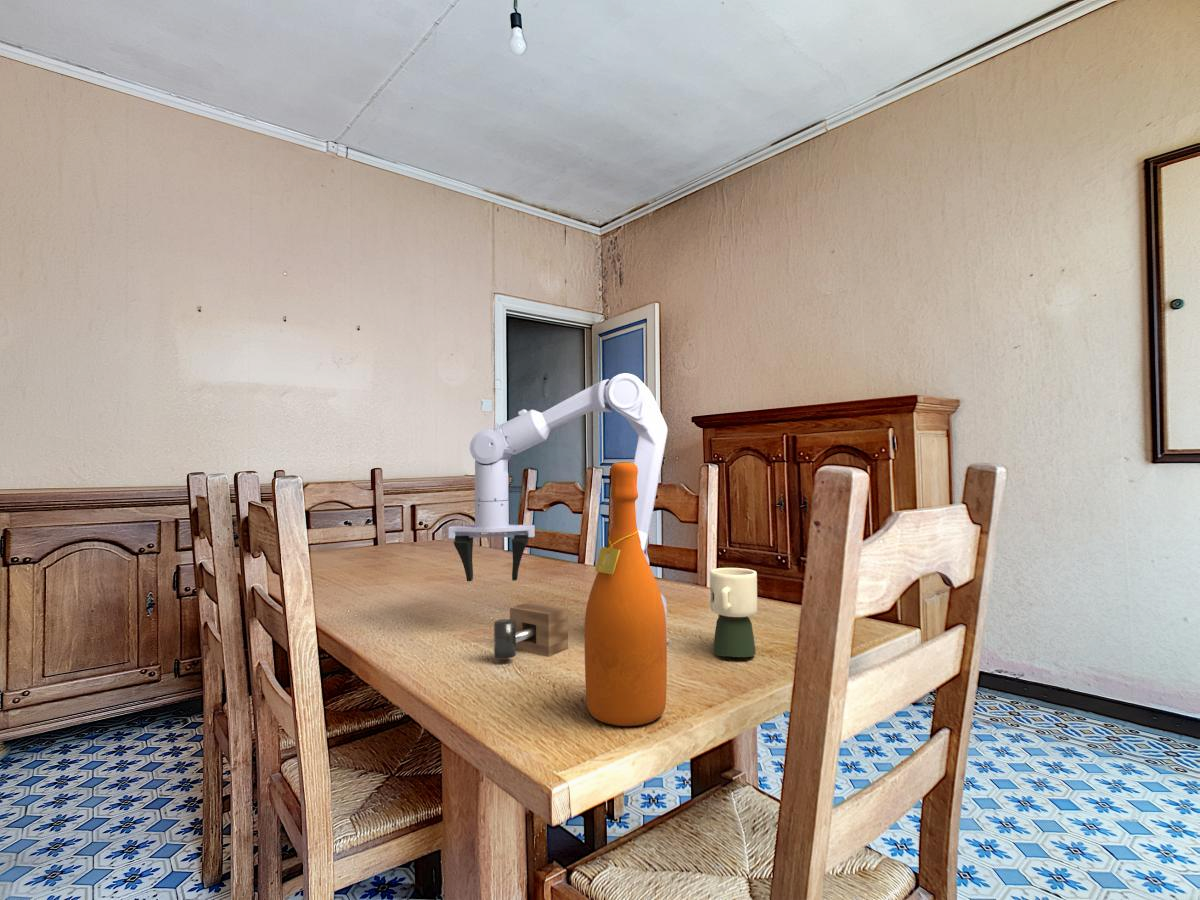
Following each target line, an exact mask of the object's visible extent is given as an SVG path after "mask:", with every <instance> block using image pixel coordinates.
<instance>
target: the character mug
mask: <svg viewBox="0 0 1200 900" xmlns="http://www.w3.org/2000/svg"><path fill="white" fill-rule="evenodd" d="M709 571H710V572H709V579H710V580H709V581H710V582H709V589H710V603H709V607H710V610H711V611H712V612H713V613H714V614H717V616H718V618H717V619H716V625H715V631H714V638H713V639H714V641H713V650H712V651H713V652H714V654H715V655H717V656H719V657H729V659H730V660H733V659H734V658H750V657H754V656H755V655H756V646H755V637H754V636H755V635H754V630H753V624H752V621H751V619H750V617H751V616H755V615H756V614H757V612H758V575H757V574H758V573H757V571H756V570H753V569H749V568H740V567H719V568H712V569H710V570H709Z"/></svg>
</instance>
